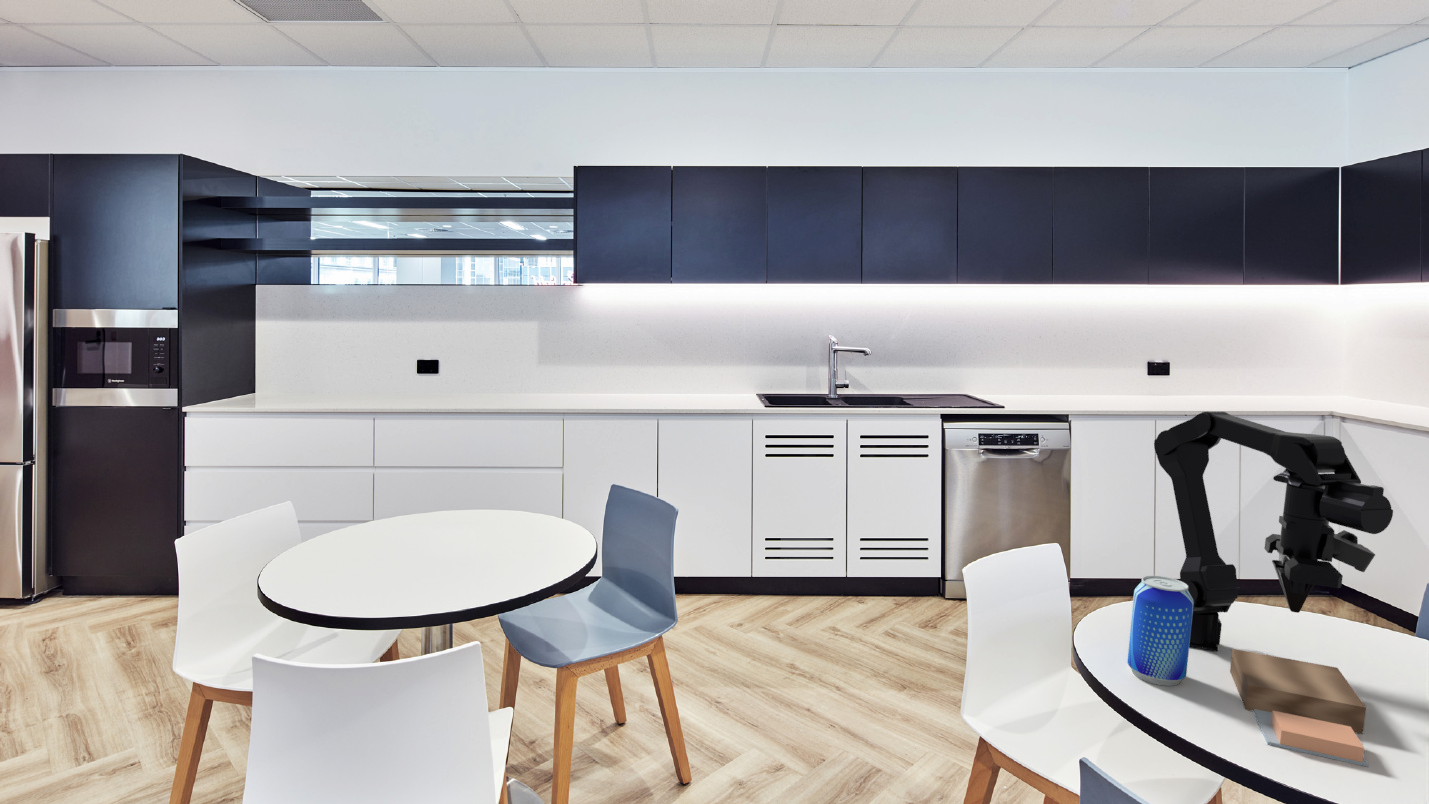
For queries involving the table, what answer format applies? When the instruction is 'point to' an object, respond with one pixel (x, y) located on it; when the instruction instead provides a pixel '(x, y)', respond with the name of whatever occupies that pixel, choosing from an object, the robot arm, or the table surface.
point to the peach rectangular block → (1317, 736)
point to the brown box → (1296, 689)
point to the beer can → (1160, 630)
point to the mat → (1272, 739)
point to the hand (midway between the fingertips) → (1294, 611)
